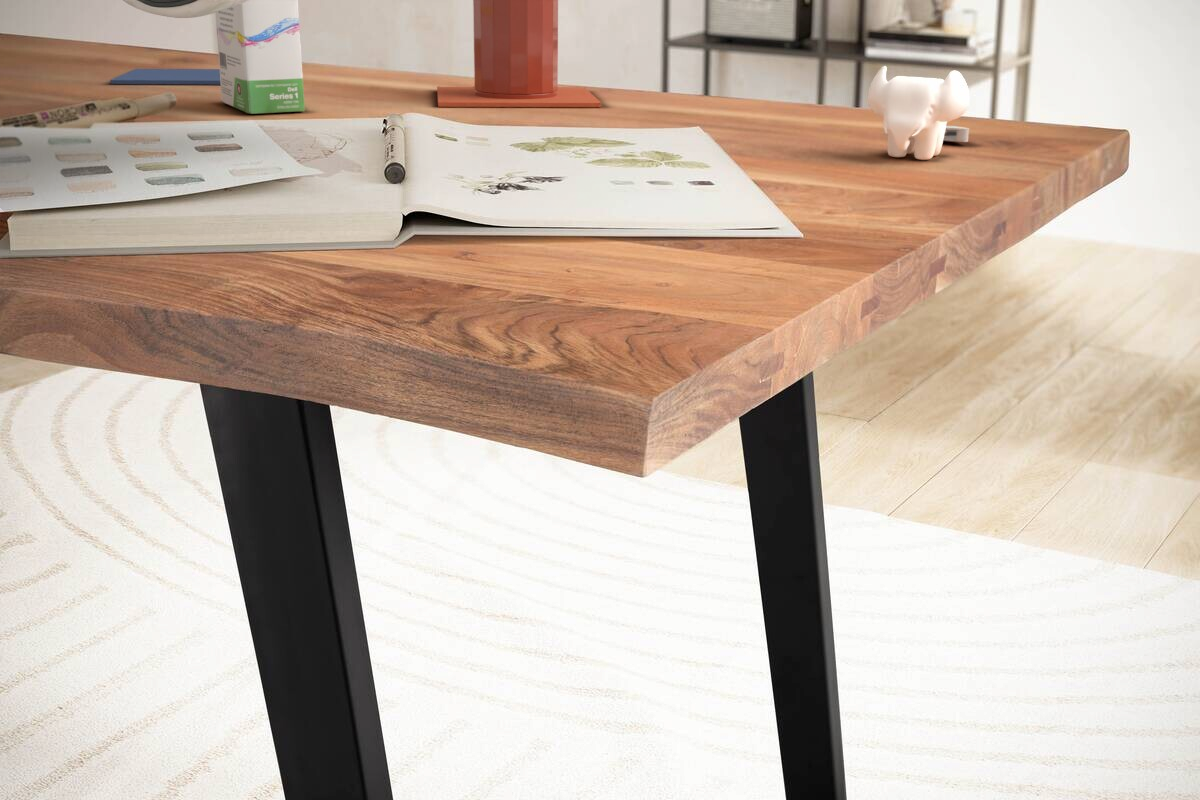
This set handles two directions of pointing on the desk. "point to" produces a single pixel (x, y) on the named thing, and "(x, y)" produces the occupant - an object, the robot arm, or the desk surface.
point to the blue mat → (170, 77)
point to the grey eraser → (956, 134)
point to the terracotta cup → (515, 48)
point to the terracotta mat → (469, 99)
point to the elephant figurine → (917, 110)
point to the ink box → (261, 56)
